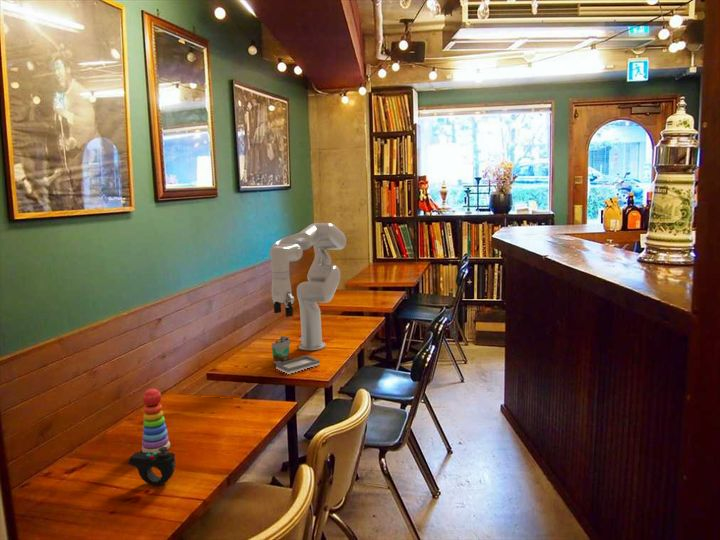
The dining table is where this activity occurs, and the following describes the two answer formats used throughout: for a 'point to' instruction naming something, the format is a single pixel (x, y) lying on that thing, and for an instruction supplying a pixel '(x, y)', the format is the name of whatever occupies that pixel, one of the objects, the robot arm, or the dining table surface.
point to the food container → (281, 350)
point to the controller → (154, 465)
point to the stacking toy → (153, 423)
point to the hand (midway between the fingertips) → (283, 314)
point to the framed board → (297, 364)
